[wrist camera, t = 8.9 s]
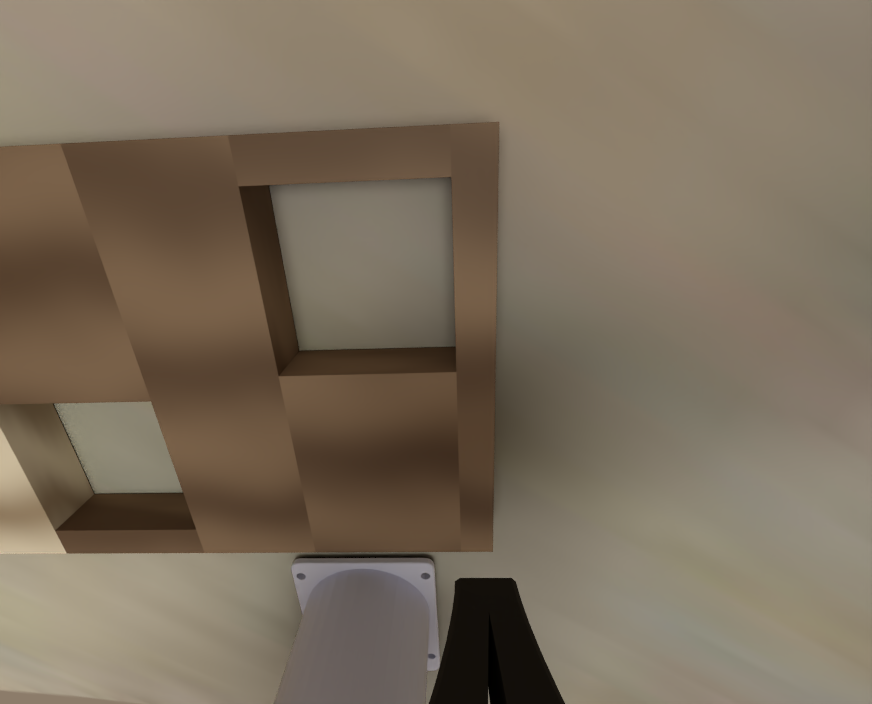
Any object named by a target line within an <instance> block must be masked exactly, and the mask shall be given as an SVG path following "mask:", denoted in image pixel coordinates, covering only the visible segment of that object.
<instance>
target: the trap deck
mask: <svg viewBox="0 0 872 704" xmlns="http://www.w3.org/2000/svg"><path fill="white" fill-rule="evenodd" d="M498 164H499V122H487V123H467V124H447V125H427V126H407V127H387V128H367V129H347V130H327V131H307V132H287V133H267V134H247V135H227V136H207V137H187V138H167V139H147V140H126V141H106V142H86V143H66V144H46V145H26V146H6V147H0V554H45V553H279V552H493V504H494V436H495V368H496V300H497V232H498ZM439 177H451V180H452V219H453V258H454V297H455V336H456V347H433V348H395V349H357V350H318V351H299V348H298V343H297V337H296V332H295V327H294V321H293V316H292V310H291V305H290V299H289V294H288V289H287V283H286V278H285V272H284V267H283V262H282V256H281V251H280V245H279V240H278V234H277V229H276V224H275V218H274V213H273V207H272V202H271V196H270V191H269V186H268V185H281V184H303V183H326V182H348V181H371V180H393V179H416V178H439ZM142 401H151V402H152V405H153V408H154V411H155V414H156V417H157V419H158V422H159V425H160V428H161V431H162V434H163V436H164V439H165V442H166V445H167V448H168V451H169V454H170V456H171V459H172V462H173V465H174V468H175V471H176V473H177V476H178V479H179V482H180V485H181V488H182V490H183V493H157V494H94V493H93V491H92V488H91V486H90V484H89V482H88V480H87V477H86V475H85V473H84V471H83V469H82V467H81V464H80V462H79V460H78V458H77V456H76V453H75V451H74V449H73V447H72V445H71V443H70V440H69V438H68V436H67V434H66V432H65V429H64V427H63V425H62V423H61V421H60V419H59V416H58V414H57V412H56V410H55V408H54V406H53V403H94V402H142Z"/></svg>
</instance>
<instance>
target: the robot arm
mask: <svg viewBox="0 0 872 704" xmlns="http://www.w3.org/2000/svg"><path fill="white" fill-rule="evenodd" d="M291 571H292V575H293V579H294V583H295V587H296V591H297V595H298V599H299V603H300V607H301V611H302V615H303V616H302V619H301V622H300V625H299V628H298V631H297V634H296V637H295V640H294V643H293V646H292V649H291V652H290V656H289V659H288V662H287V665H286V668H285V671H284V674H283V677H282V680H281V683H280V686H279V689H278V692H277V695H276V698H275V701H274V704H426V684H427V671H435V670H437V669H438V668H439V672H438V675H437V679H436V683H435V686H434V689H433V692H432V696H431V699H430V702H429V704H488V689H489V696H490V704H565V703H564V701H563V699H562V697H561V694H560V692H559V690H558V688H557V686H556V684H555V682H554V679H553V677H552V675H551V673H550V671H549V669H548V666H547V664H546V662H545V660H544V658H543V655H542V653H541V651H540V648H539V646H538V644H537V641H536V639H535V636H534V634H533V631H532V629H531V626H530V624H529V621H528V618H527V616H526V613H525V610H524V607H523V604H522V601H521V598H520V595H519V592H518V588H517V584H516V581H514V580H513V579H512V578H459V579H458V580H457V581H455V594H454V602H453V610H452V616H451V621H450V626H449V631H448V636H447V640H446V644H445V648H444V652H443V656H442V660H441V664H440V649H439V633H438V616H437V600H436V583H435V567H434V562H433V561H432V560H431V559H429V558H299V559H296V560H294V562H293V564H292V566H291Z"/></svg>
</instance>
